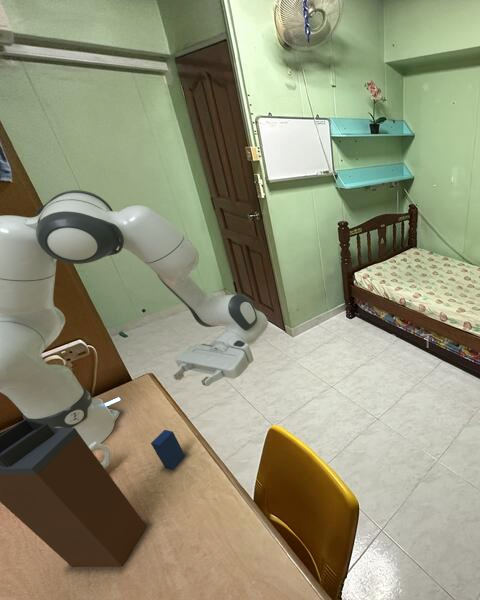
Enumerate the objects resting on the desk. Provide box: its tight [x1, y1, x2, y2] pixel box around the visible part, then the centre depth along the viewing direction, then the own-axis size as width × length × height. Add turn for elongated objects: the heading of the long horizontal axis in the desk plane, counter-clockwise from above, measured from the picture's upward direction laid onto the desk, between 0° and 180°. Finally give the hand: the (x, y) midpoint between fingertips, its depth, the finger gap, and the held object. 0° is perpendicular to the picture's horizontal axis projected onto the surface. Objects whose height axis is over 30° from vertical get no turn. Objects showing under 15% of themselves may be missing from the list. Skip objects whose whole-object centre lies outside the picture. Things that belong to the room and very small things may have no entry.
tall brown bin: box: [0, 418, 148, 568], centre depth 57 cm, size 10×7×35 cm
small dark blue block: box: [150, 429, 186, 471], centre depth 79 cm, size 2×4×10 cm, turn 168°
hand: (189, 381), depth 83 cm, fingers open, 8 cm apart
